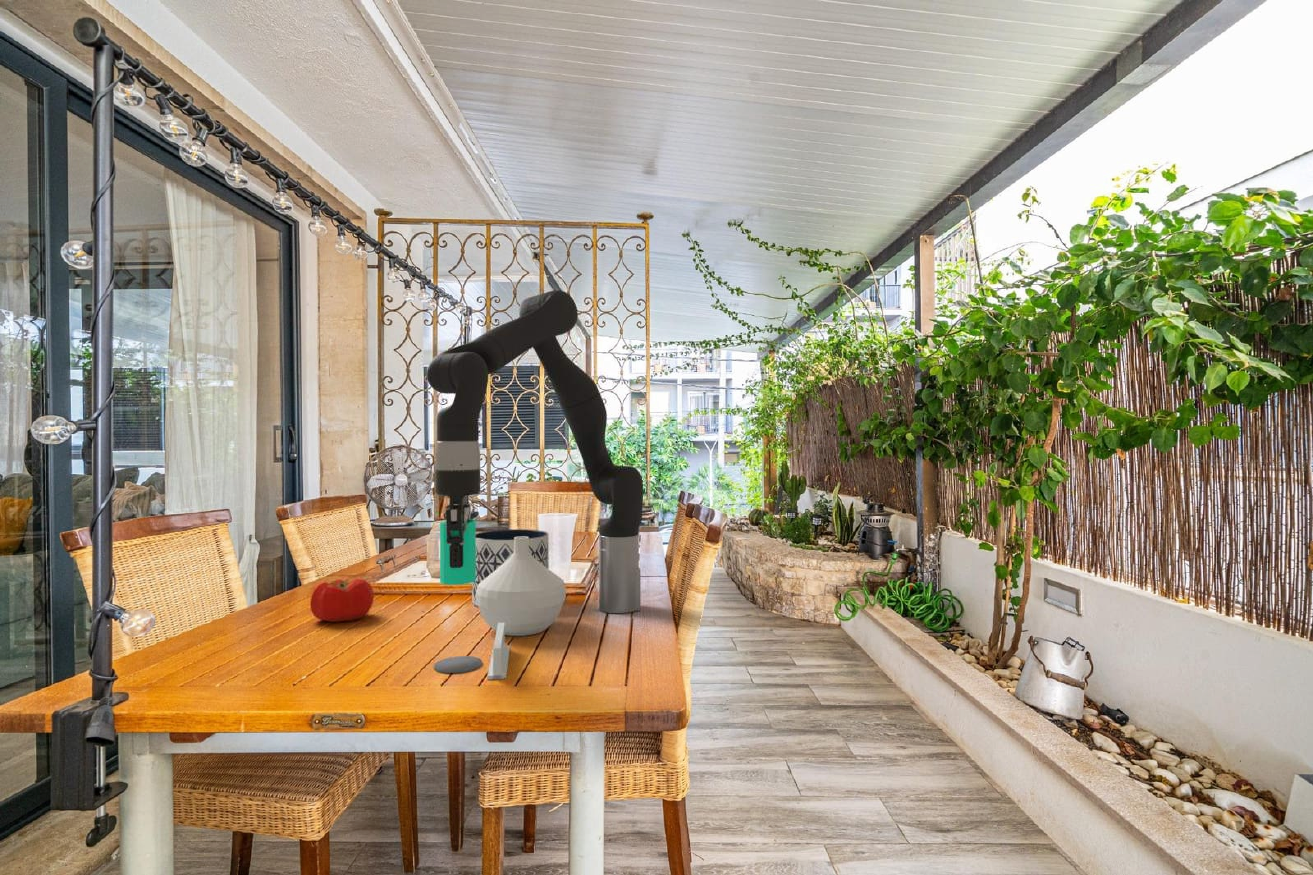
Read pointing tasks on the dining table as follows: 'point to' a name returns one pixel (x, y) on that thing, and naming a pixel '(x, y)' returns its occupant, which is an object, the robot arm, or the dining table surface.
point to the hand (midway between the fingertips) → (458, 563)
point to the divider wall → (499, 655)
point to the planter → (505, 551)
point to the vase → (521, 594)
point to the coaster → (458, 664)
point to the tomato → (342, 600)
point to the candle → (469, 556)
